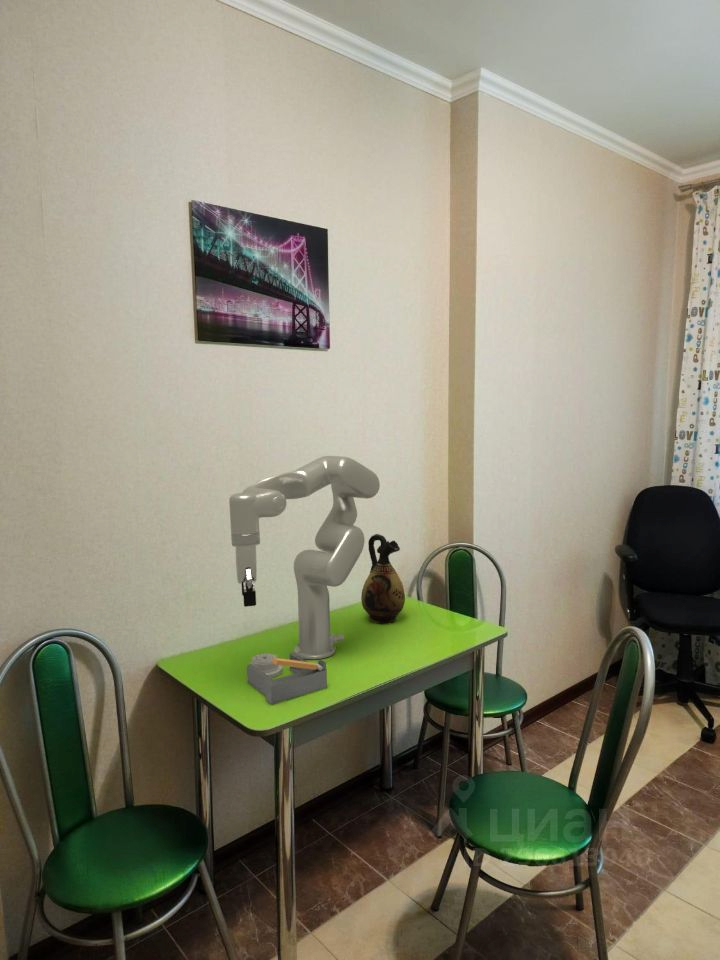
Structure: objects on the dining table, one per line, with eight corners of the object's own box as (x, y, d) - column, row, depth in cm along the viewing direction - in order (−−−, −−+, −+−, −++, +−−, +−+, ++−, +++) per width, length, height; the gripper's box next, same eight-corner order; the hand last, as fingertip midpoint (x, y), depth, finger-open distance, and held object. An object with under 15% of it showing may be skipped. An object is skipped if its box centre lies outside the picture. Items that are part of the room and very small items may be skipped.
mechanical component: (288, 675, 180) (275, 663, 189) (287, 660, 179) (274, 648, 188) (253, 682, 175) (242, 669, 184) (253, 667, 175) (242, 655, 183)
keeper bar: (316, 667, 172) (317, 662, 172) (322, 670, 170) (323, 666, 170) (271, 661, 164) (272, 657, 164) (276, 665, 161) (278, 660, 161)
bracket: (296, 668, 184) (296, 645, 183) (327, 687, 171) (326, 663, 170) (243, 683, 174) (242, 659, 173) (271, 705, 161) (270, 679, 161)
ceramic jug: (413, 617, 227) (413, 534, 224) (388, 629, 215) (387, 542, 211) (375, 609, 237) (374, 529, 234) (349, 620, 225) (347, 536, 222)
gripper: (230, 533, 180) (233, 592, 182) (232, 547, 163) (236, 611, 165) (257, 531, 182) (260, 590, 184) (262, 544, 165) (265, 608, 167)
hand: (249, 600), depth 175 cm, fingers open, 9 cm apart
